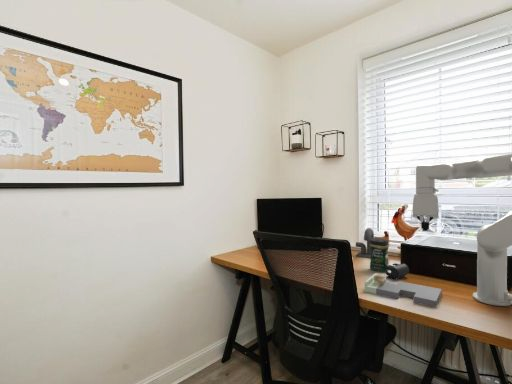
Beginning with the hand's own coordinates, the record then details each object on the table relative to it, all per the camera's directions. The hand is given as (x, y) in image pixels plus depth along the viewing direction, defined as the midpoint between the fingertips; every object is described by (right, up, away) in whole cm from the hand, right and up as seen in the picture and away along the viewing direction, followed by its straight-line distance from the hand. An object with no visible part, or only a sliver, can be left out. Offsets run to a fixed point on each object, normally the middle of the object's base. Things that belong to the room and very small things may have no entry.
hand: (425, 230), depth 134 cm
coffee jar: (-9, -27, +28) cm, 40 cm away
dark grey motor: (-5, -27, +16) cm, 32 cm away
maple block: (-21, -25, +1) cm, 33 cm away
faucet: (-5, -26, +54) cm, 60 cm away
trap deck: (-13, -28, -5) cm, 31 cm away
